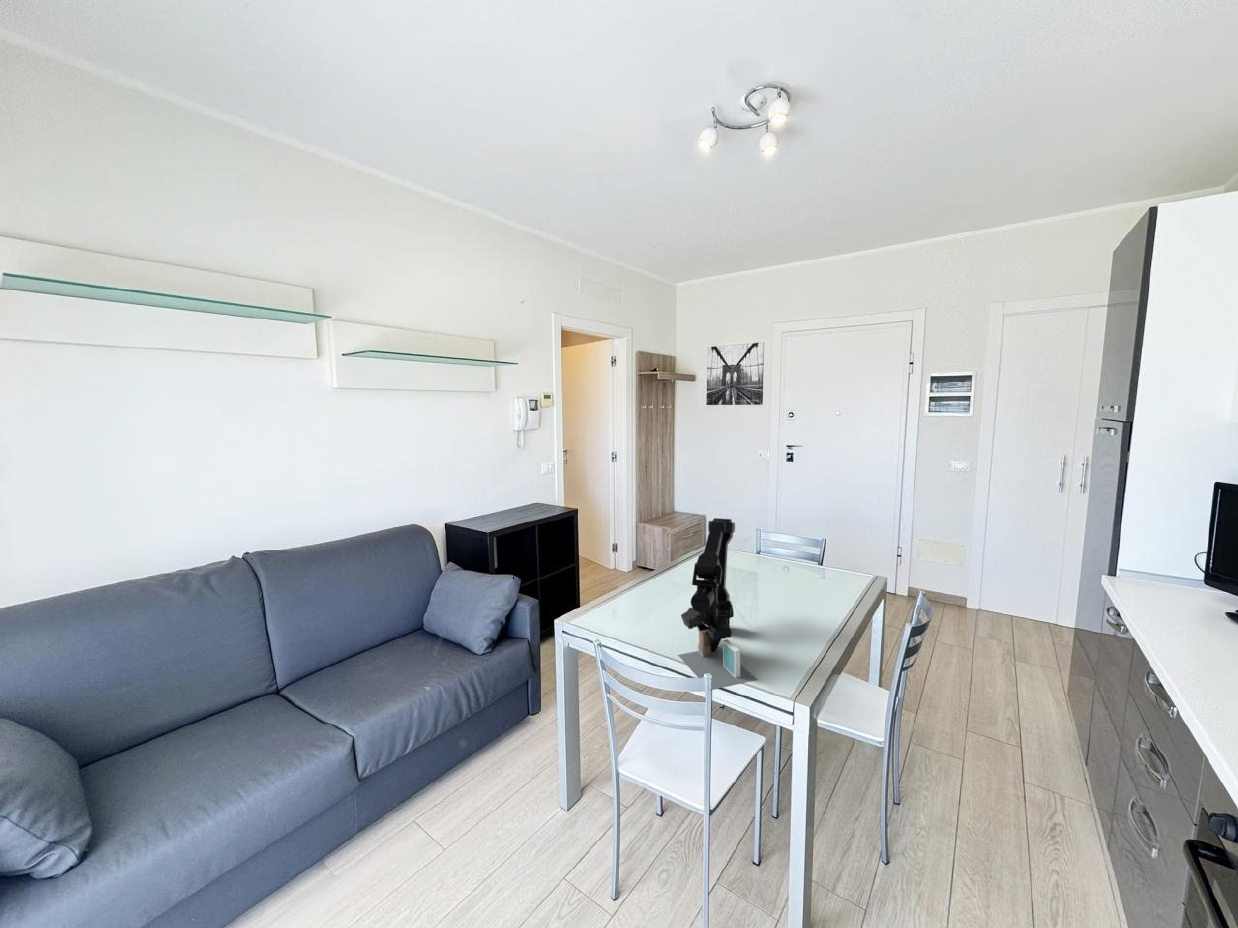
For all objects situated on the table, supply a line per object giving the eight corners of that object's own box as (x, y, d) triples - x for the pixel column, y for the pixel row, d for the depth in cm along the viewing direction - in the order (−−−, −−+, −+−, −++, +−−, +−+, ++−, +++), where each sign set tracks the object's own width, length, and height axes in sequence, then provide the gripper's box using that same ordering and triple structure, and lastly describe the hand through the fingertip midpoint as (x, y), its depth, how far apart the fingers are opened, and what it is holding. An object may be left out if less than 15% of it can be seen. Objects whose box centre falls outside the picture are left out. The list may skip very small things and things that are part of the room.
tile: (727, 664, 148) (727, 639, 147) (740, 676, 141) (740, 649, 141) (723, 665, 148) (722, 640, 147) (735, 677, 141) (735, 650, 140)
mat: (720, 647, 160) (720, 646, 160) (757, 680, 140) (757, 679, 140) (677, 656, 155) (677, 654, 155) (709, 691, 135) (709, 690, 135)
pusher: (713, 649, 158) (713, 628, 157) (718, 653, 155) (718, 632, 154) (698, 652, 156) (698, 631, 155) (702, 656, 153) (702, 635, 153)
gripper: (671, 593, 160) (672, 639, 162) (698, 615, 143) (699, 667, 144) (702, 588, 164) (703, 634, 165) (732, 609, 146) (733, 660, 148)
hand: (708, 648), depth 155 cm, fingers open, 5 cm apart
